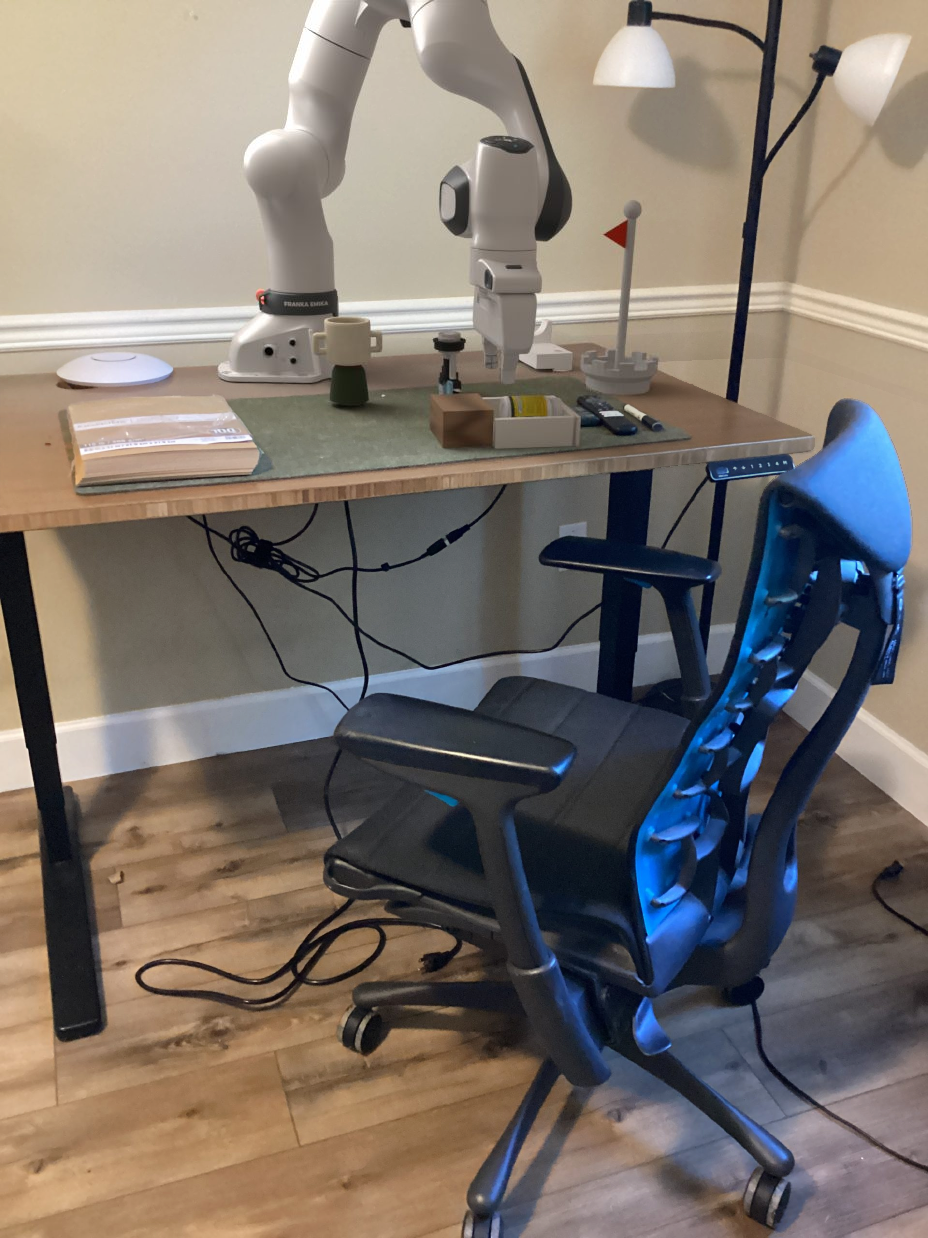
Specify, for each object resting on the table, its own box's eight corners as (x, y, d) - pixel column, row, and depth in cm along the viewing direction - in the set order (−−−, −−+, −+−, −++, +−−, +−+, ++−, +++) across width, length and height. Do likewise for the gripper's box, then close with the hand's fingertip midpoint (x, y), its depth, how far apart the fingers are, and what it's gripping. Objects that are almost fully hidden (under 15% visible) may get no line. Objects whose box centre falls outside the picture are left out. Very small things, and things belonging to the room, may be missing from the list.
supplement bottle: (508, 420, 141) (566, 418, 143) (503, 389, 142) (561, 388, 144) (501, 436, 145) (557, 433, 147) (497, 406, 147) (552, 404, 148)
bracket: (510, 360, 196) (512, 319, 193) (544, 358, 198) (546, 318, 195) (536, 374, 185) (538, 331, 182) (571, 372, 187) (574, 330, 184)
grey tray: (495, 448, 139) (496, 419, 137) (474, 424, 150) (475, 397, 149) (578, 445, 141) (580, 417, 139) (552, 421, 153) (554, 395, 151)
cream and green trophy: (377, 397, 164) (376, 315, 159) (388, 408, 158) (387, 322, 153) (310, 401, 161) (307, 317, 156) (319, 412, 155) (316, 324, 149)
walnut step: (442, 447, 139) (443, 411, 137) (429, 428, 148) (430, 394, 145) (492, 445, 140) (493, 409, 138) (476, 427, 149) (477, 393, 147)
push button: (473, 399, 165) (475, 336, 161) (443, 401, 163) (444, 338, 159) (456, 390, 170) (457, 329, 166) (427, 392, 168) (427, 331, 164)
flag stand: (627, 377, 183) (643, 197, 170) (670, 392, 172) (691, 202, 160) (565, 382, 178) (577, 197, 165) (605, 398, 167) (621, 202, 154)
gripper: (463, 261, 144) (461, 360, 150) (497, 280, 126) (493, 392, 132) (506, 261, 145) (502, 359, 151) (546, 280, 127) (540, 390, 133)
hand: (498, 375), depth 141 cm, fingers open, 8 cm apart
